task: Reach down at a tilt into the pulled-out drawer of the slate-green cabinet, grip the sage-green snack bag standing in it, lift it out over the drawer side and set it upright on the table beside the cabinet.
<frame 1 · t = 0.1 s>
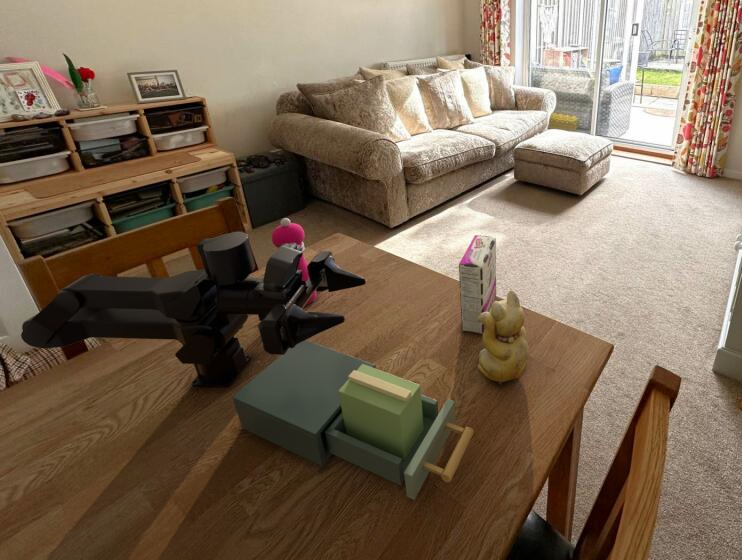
hand: (355, 298, 65), 17 cm above the table, tool horizontal, fingers open, 9 cm apart
cabinet: (314, 410, 65), on the table
pepper mill: (301, 299, 90), on the table
drawer: (404, 434, 58), point 3 cm above the table, slide at 13.5 cm, touching snack bag
decorative figurine: (506, 369, 73), on the table
snack bag: (385, 432, 59), point 2 cm above the table, touching drawer
candy bar box: (479, 315, 86), on the table
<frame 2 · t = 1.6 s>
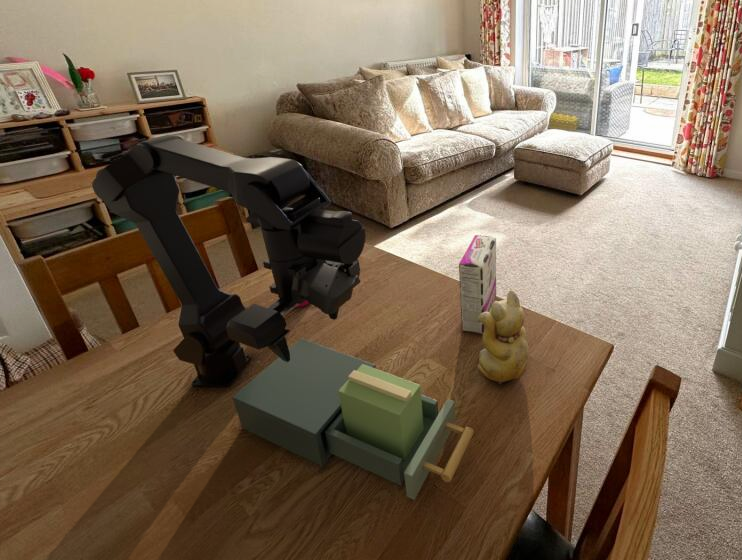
hand: (311, 338, 62), 13 cm above the table, tool pointing down, fingers open, 9 cm apart
nothing on the table moved.
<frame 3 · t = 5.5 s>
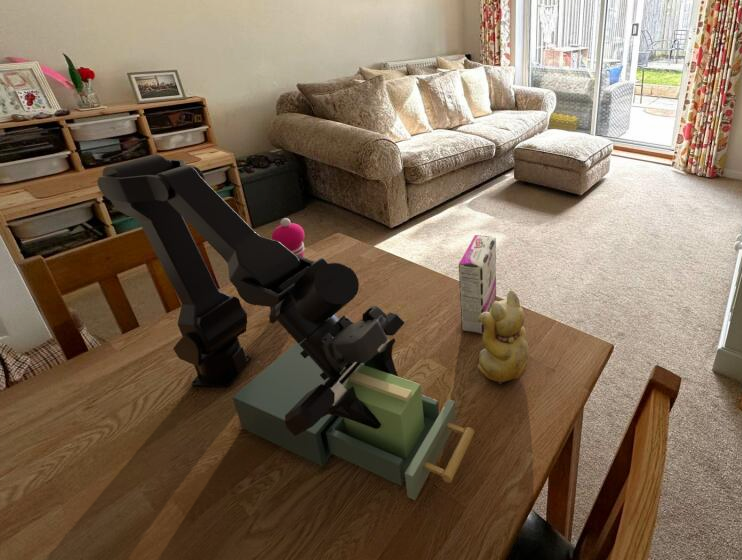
hand: (390, 410, 57), 7 cm above the table, tool tilted 45°, fingers closed on snack bag, 5 cm apart
snack bag: (386, 431, 60), point 2 cm above the table, touching drawer, gripper
everything else where it was.
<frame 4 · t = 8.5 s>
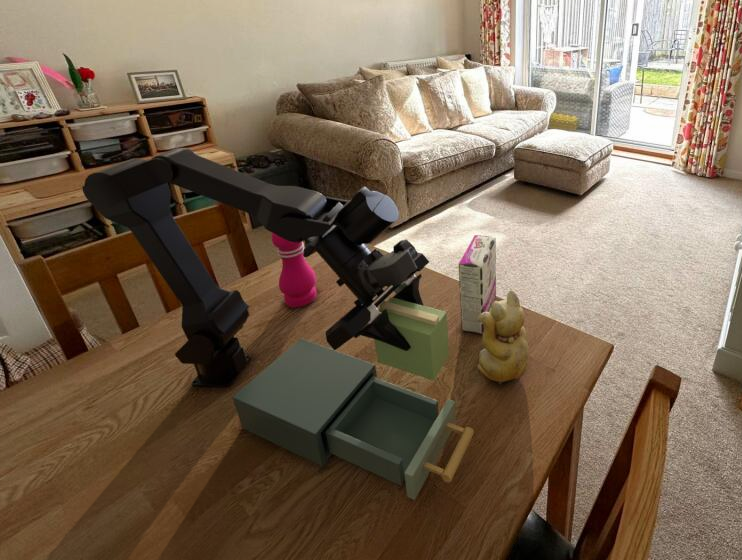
hand: (418, 337, 62), 14 cm above the table, tool tilted 45°, fingers closed on snack bag, 5 cm apart
drawer: (405, 434, 58), point 3 cm above the table, slide at 13.6 cm
snack bag: (413, 359, 64), point 8 cm above the table, touching gripper
everything else where it was.
when the fingers open (5 cm above the table, at t = 11.6 s): snack bag stays where it is, on the table.
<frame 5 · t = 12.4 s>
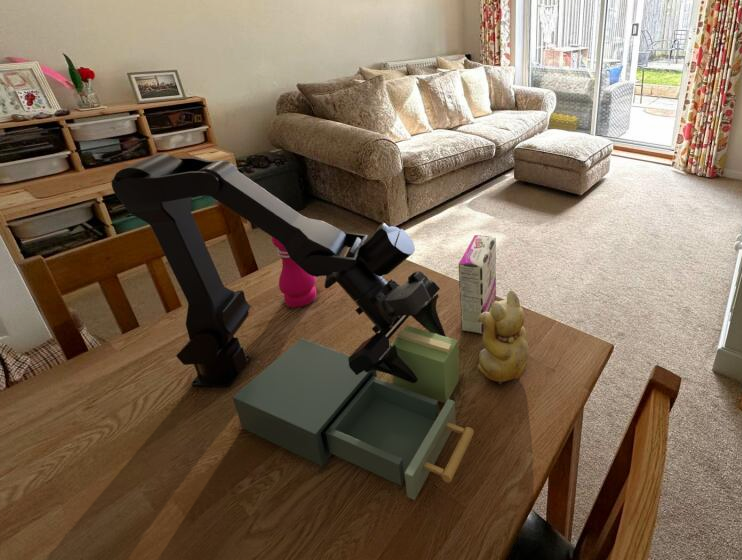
hand: (431, 360, 67), 6 cm above the table, tool tilted 45°, fingers open, 9 cm apart
snack bag: (427, 382, 70), on the table
everything else where it was.
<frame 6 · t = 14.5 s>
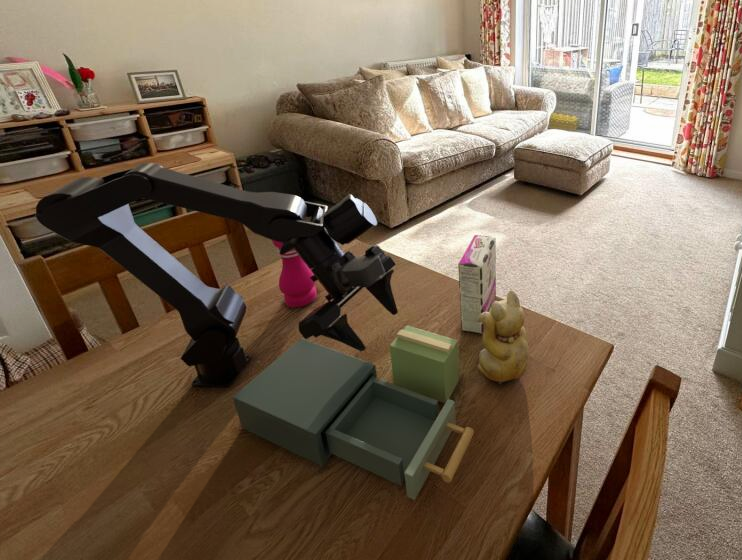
hand: (380, 330, 70), 8 cm above the table, tool tilted 35°, fingers open, 9 cm apart
nothing on the table moved.
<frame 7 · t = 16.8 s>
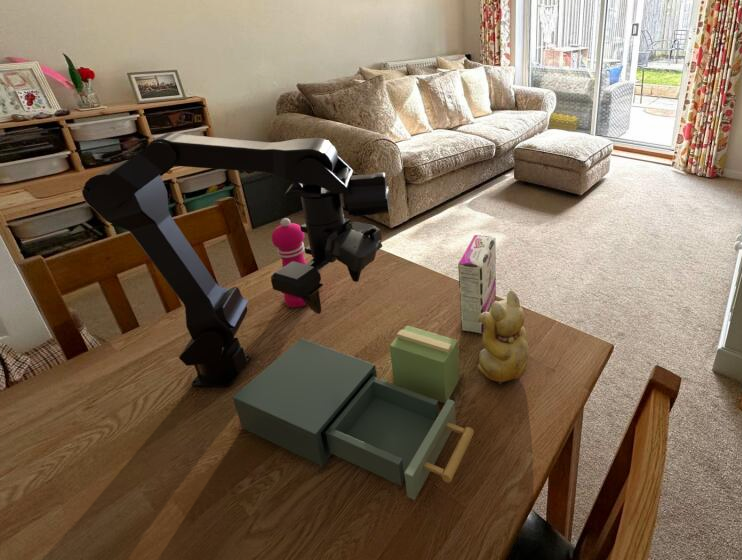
hand: (337, 296, 71), 13 cm above the table, tool pointing down, fingers open, 9 cm apart
nothing on the table moved.
at the end: snack bag inside the target area (0.1 cm from its centre), on the table; snack bag tilted 0°; the gripper is holding nothing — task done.
